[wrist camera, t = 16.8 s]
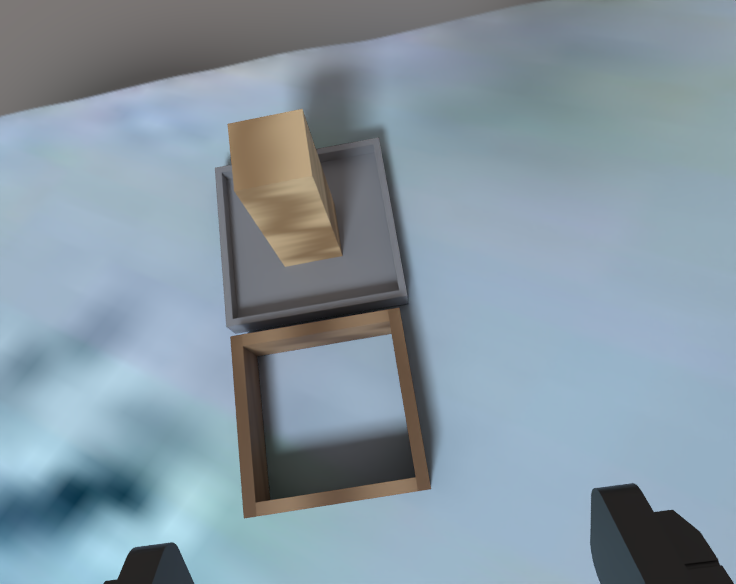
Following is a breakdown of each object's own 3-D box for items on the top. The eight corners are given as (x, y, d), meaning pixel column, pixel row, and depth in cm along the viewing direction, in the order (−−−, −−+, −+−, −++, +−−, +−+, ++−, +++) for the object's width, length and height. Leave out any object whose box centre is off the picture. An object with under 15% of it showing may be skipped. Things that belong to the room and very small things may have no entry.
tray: (380, 151, 46) (378, 137, 44) (408, 303, 42) (407, 295, 40) (223, 180, 47) (214, 167, 45) (235, 333, 43) (226, 326, 41)
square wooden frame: (401, 321, 42) (399, 307, 38) (430, 488, 38) (431, 489, 35) (245, 347, 42) (230, 336, 39) (259, 514, 39) (243, 518, 35)
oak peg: (334, 203, 44) (302, 108, 33) (342, 256, 43) (312, 175, 31) (278, 214, 44) (227, 124, 33) (285, 266, 43) (234, 190, 32)
